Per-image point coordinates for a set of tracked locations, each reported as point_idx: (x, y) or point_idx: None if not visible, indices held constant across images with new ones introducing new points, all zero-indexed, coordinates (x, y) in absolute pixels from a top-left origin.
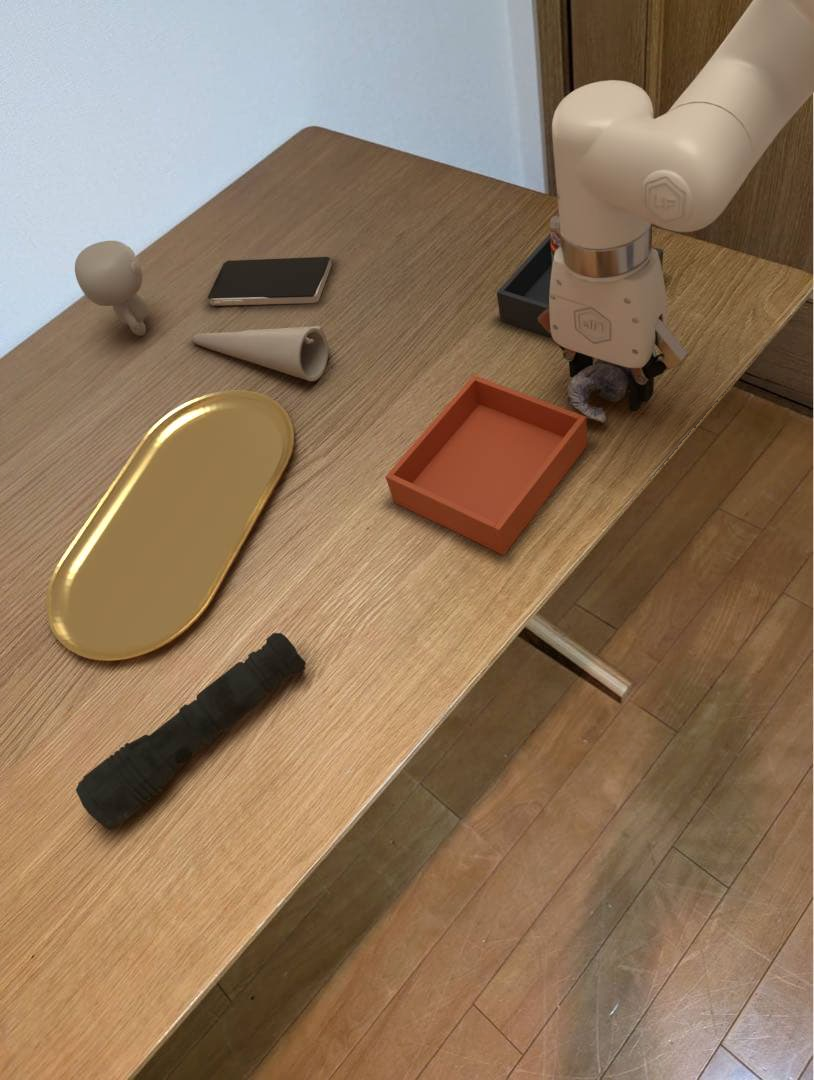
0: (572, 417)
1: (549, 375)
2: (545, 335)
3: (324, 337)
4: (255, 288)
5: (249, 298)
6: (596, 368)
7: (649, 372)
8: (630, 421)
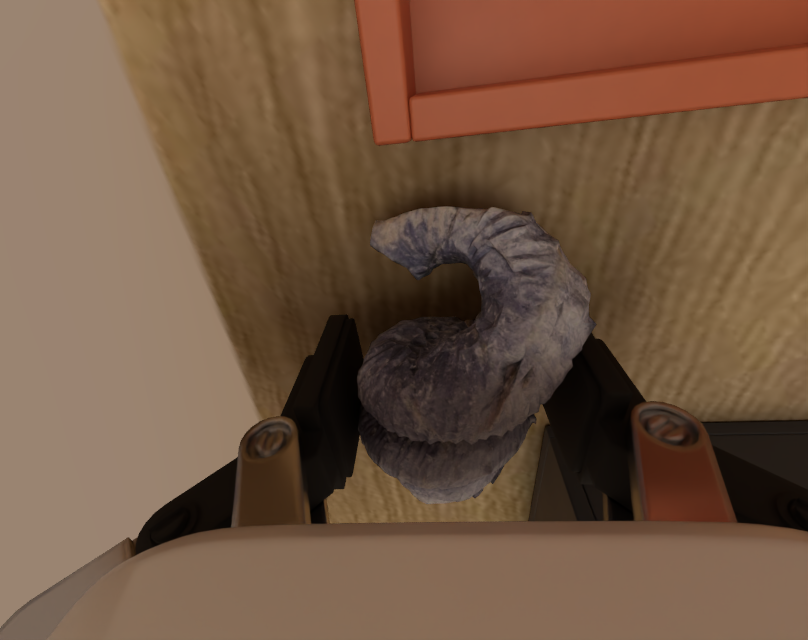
0: (449, 93)
1: (672, 321)
2: (730, 422)
3: None
4: None
5: None
6: (493, 415)
7: (232, 486)
8: (349, 287)
